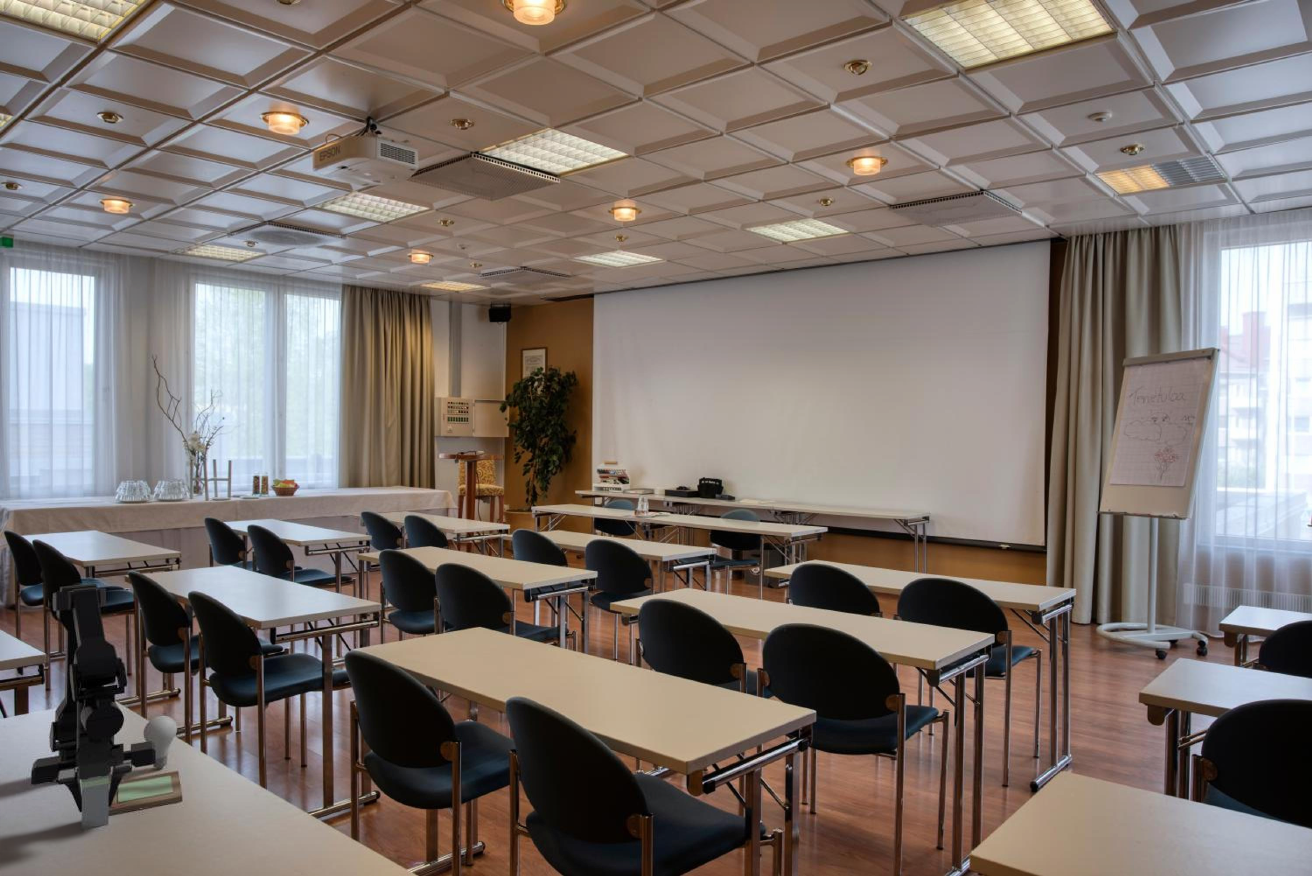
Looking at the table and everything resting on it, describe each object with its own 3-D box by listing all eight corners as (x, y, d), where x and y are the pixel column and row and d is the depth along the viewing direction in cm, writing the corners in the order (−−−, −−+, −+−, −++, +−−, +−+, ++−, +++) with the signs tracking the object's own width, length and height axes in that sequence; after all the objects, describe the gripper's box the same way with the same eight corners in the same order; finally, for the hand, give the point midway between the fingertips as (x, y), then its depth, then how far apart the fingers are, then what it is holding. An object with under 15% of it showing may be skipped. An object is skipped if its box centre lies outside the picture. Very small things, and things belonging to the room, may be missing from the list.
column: (82, 820, 156) (82, 771, 156) (108, 815, 158) (109, 767, 158) (81, 829, 153) (81, 779, 153) (108, 824, 155) (108, 775, 155)
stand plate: (109, 788, 170) (109, 782, 170) (178, 775, 177) (178, 769, 177) (108, 815, 158) (108, 809, 158) (182, 801, 165) (182, 795, 165)
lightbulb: (142, 776, 176) (142, 723, 176) (144, 765, 181) (144, 714, 181) (176, 771, 179) (176, 719, 179) (177, 760, 184) (177, 710, 184)
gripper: (28, 747, 144) (28, 839, 144) (156, 728, 154) (156, 814, 154) (33, 727, 153) (33, 814, 153) (154, 710, 163) (154, 791, 163)
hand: (95, 808), depth 156 cm, fingers closed on column, 4 cm apart
